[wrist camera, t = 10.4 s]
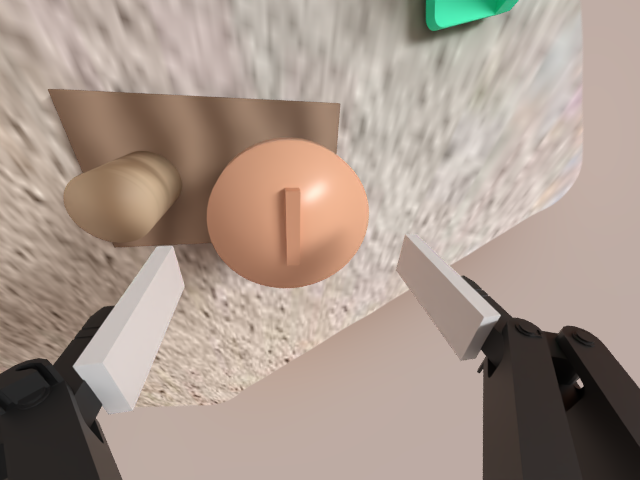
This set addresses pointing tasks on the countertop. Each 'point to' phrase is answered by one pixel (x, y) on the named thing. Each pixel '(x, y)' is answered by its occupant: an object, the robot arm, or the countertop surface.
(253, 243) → the domed pot lid
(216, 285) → the countertop surface
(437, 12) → the camera mount
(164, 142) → the brown board with post
